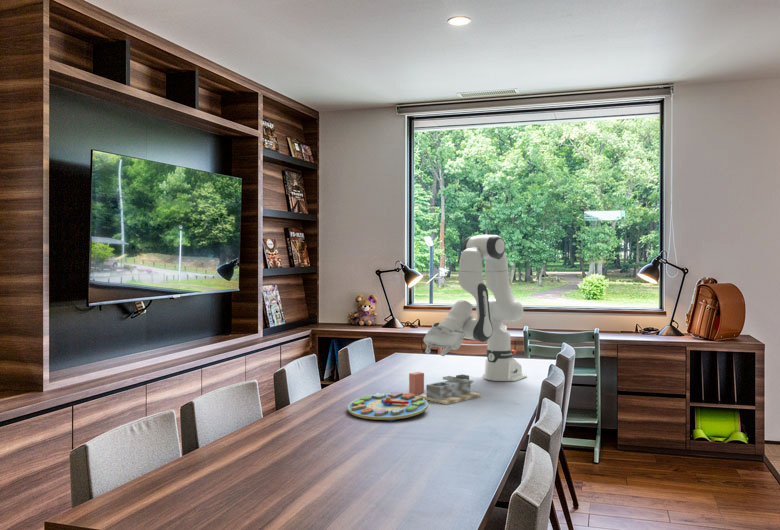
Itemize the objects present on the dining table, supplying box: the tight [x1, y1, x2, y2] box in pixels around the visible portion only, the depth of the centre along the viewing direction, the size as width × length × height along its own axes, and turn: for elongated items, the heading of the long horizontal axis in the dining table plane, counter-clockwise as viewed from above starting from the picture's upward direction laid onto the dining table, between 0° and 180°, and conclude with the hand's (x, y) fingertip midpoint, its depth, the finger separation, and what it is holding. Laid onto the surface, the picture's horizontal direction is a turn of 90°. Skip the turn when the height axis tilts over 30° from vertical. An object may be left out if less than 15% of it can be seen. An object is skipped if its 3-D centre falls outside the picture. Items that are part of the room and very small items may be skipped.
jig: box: [417, 373, 482, 405], centre depth 266 cm, size 22×16×8 cm
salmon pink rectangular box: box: [408, 371, 425, 396], centre depth 273 cm, size 6×4×9 cm, turn 132°
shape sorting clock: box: [347, 391, 429, 422], centre depth 242 cm, size 31×30×6 cm
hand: (434, 354), depth 279 cm, fingers open, 8 cm apart
